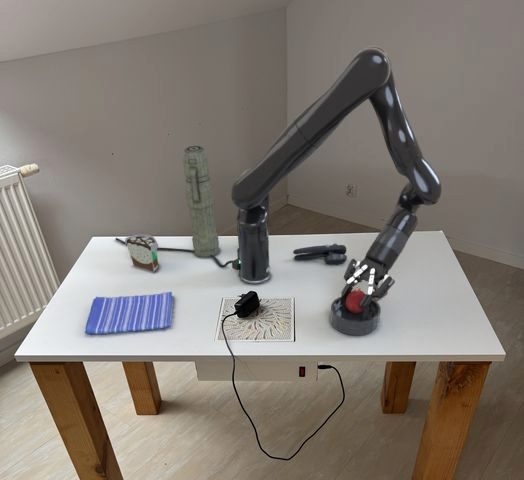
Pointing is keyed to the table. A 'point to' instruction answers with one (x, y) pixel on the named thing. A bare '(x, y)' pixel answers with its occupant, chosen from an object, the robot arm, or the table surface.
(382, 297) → the pan handle
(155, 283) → the table surface
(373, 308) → the pan
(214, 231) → the thermos
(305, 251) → the can opener
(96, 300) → the dish towel
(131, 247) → the cake slice
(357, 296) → the onion
